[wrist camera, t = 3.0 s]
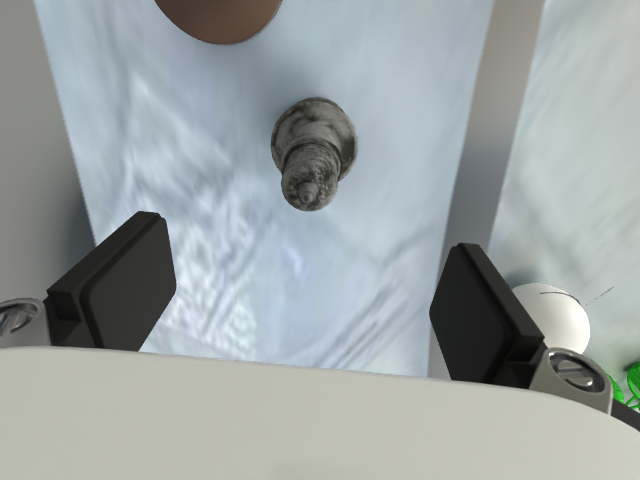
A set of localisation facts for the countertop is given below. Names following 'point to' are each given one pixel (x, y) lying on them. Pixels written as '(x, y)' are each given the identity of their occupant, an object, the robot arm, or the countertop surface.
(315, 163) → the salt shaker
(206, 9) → the coaster
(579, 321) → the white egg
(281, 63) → the countertop surface
